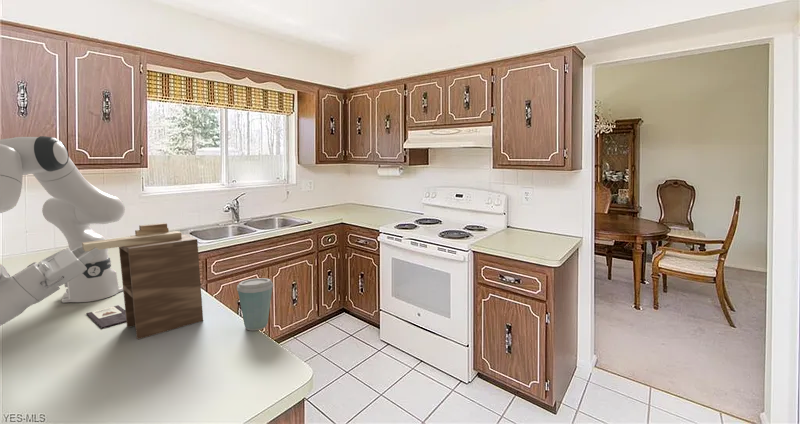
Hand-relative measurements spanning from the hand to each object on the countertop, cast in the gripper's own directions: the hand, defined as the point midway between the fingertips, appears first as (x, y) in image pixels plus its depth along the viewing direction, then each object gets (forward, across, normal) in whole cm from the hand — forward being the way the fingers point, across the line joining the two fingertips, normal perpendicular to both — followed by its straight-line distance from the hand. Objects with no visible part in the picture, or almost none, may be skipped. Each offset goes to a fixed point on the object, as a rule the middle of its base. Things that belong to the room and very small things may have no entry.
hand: (95, 247), depth 106 cm
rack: (0, 0, +32) cm, 32 cm away
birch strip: (+8, 0, +5) cm, 9 cm away
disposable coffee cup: (+16, -24, +41) cm, 50 cm away
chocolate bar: (-10, +19, +27) cm, 35 cm away
